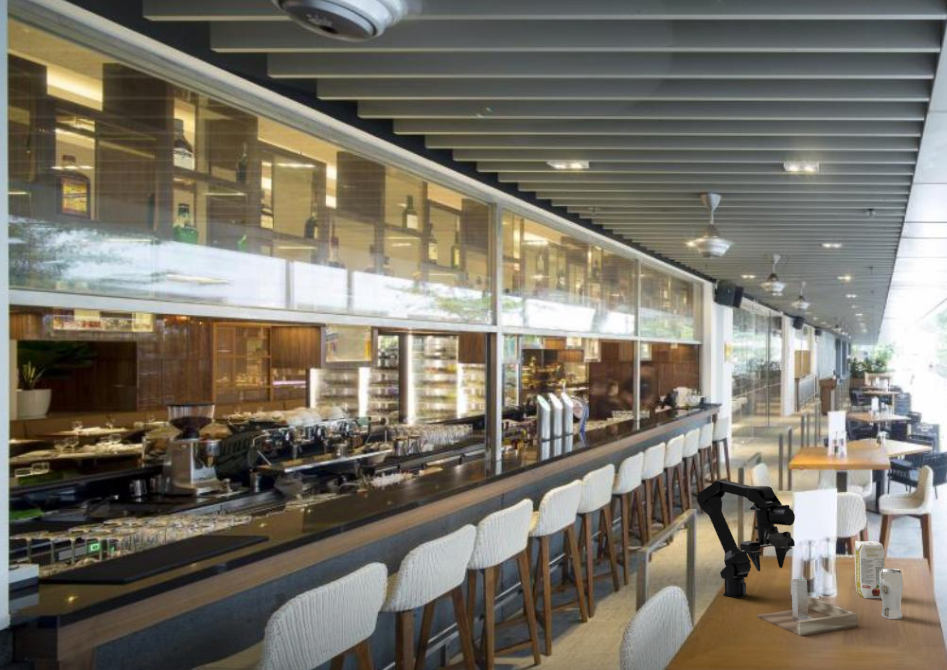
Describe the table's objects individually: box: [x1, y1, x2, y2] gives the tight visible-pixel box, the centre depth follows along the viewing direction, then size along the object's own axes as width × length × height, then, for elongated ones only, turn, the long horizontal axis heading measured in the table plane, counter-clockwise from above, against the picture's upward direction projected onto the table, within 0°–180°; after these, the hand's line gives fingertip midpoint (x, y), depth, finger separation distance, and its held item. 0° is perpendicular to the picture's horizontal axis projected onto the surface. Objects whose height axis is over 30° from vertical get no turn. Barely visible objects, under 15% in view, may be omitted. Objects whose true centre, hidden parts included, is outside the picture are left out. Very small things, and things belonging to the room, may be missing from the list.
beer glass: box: [879, 567, 904, 620], centre depth 269 cm, size 7×7×15 cm
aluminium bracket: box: [791, 578, 814, 621], centre depth 263 cm, size 6×4×13 cm, turn 20°
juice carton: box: [854, 540, 886, 599], centre depth 292 cm, size 8×9×19 cm
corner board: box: [756, 596, 858, 637], centre depth 266 cm, size 20×22×4 cm
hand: (769, 569), depth 283 cm, fingers open, 9 cm apart
